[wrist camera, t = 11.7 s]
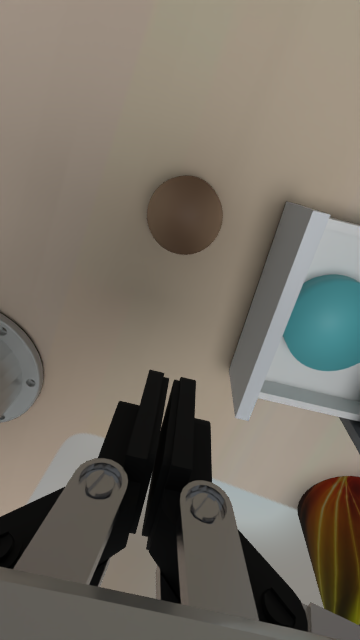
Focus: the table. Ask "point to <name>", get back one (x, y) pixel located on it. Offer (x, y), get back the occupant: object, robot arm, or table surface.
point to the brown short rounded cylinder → (184, 215)
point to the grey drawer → (275, 310)
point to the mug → (334, 542)
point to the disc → (326, 323)
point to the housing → (352, 431)
